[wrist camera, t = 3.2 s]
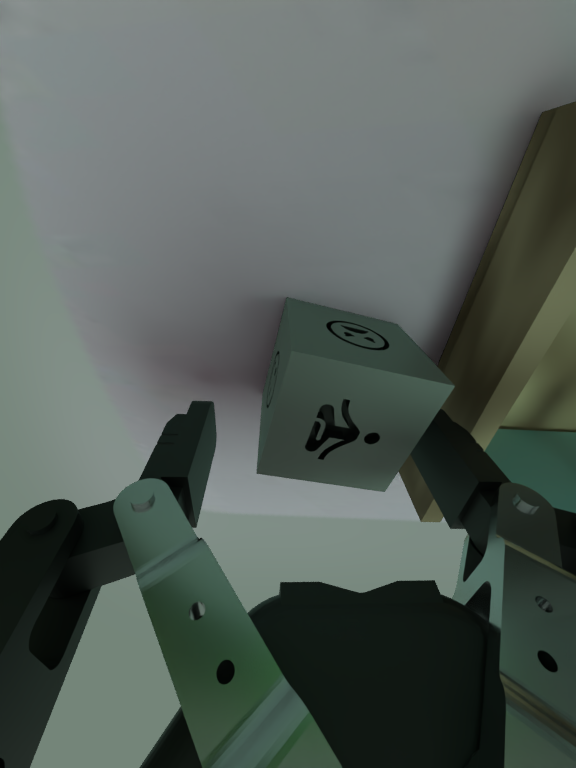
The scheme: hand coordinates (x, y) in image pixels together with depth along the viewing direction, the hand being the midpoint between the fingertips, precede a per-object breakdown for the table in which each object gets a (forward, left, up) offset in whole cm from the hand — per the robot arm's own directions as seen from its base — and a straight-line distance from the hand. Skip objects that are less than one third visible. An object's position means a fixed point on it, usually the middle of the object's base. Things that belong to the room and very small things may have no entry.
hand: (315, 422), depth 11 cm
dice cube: (-1, +1, -4) cm, 4 cm away
